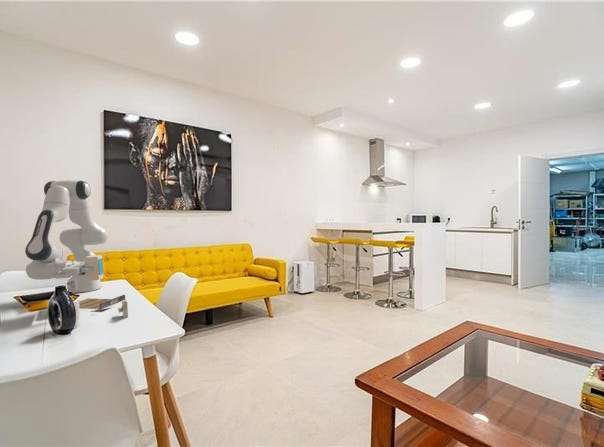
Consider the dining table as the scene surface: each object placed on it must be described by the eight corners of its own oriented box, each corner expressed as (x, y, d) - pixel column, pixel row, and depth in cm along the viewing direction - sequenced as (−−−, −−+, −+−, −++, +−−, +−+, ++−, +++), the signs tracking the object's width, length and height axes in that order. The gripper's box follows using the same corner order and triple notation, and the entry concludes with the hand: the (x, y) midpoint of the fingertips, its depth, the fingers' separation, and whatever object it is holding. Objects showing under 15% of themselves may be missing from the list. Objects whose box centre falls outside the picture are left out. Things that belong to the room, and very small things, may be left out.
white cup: (85, 324, 136) (83, 301, 136) (70, 331, 128) (68, 307, 128) (68, 324, 137) (67, 301, 137) (52, 331, 129) (50, 307, 129)
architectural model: (119, 319, 142) (118, 303, 142) (118, 315, 148) (117, 300, 148) (128, 318, 144) (127, 302, 144) (126, 314, 150) (125, 299, 150)
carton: (85, 280, 160) (84, 257, 159) (90, 278, 165) (89, 255, 165) (99, 279, 161) (98, 256, 160) (104, 277, 167) (102, 255, 166)
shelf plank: (61, 310, 157) (60, 302, 157) (88, 301, 173) (88, 293, 172) (102, 312, 153) (101, 303, 153) (125, 302, 168) (125, 294, 168)
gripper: (54, 266, 150) (86, 265, 153) (74, 260, 170) (103, 258, 173) (54, 280, 150) (87, 277, 153) (75, 271, 170) (103, 269, 173)
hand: (95, 267), depth 163 cm, fingers closed on carton, 6 cm apart
